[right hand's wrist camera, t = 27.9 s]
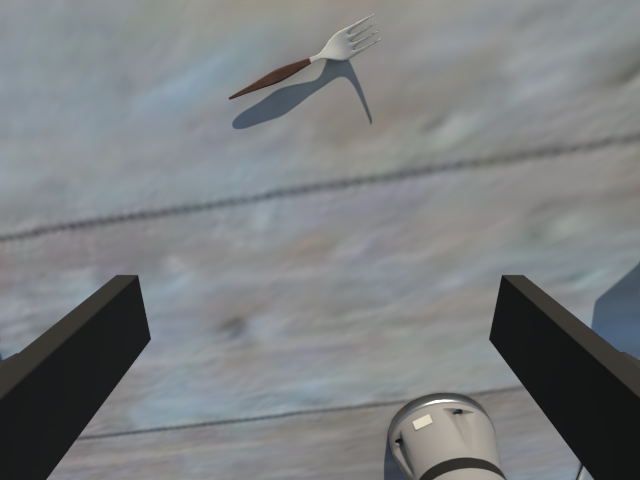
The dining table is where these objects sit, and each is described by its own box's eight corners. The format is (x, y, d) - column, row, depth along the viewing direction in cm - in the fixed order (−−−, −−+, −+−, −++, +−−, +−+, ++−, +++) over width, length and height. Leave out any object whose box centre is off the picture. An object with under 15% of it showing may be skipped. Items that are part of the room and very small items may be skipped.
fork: (224, 86, 36) (218, 84, 34) (370, 17, 33) (372, 11, 32) (235, 111, 36) (231, 111, 35) (378, 45, 34) (382, 41, 32)
